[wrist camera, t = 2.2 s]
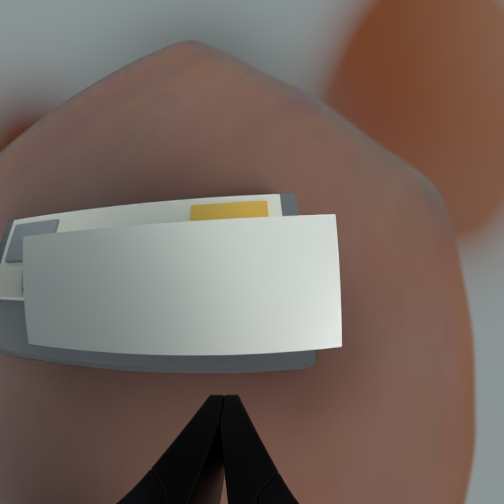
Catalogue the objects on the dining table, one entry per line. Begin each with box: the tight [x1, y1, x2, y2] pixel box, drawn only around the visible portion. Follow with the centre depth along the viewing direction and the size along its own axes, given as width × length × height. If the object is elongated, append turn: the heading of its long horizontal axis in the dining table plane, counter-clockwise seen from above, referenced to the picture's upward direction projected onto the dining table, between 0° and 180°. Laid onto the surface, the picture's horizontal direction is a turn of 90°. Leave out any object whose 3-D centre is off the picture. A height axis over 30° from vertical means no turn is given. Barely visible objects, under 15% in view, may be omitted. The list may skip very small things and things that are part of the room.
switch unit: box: [0, 193, 317, 374], centre depth 16 cm, size 10×22×5 cm, turn 93°
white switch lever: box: [23, 214, 342, 355], centre depth 10 cm, size 2×4×12 cm, turn 93°
